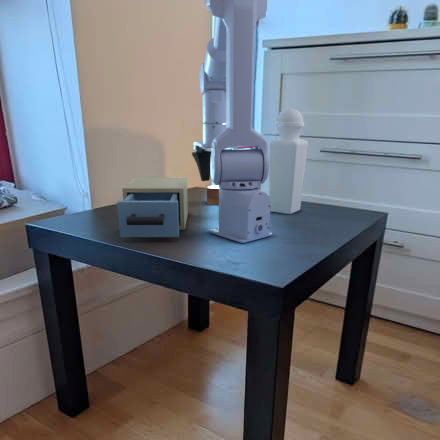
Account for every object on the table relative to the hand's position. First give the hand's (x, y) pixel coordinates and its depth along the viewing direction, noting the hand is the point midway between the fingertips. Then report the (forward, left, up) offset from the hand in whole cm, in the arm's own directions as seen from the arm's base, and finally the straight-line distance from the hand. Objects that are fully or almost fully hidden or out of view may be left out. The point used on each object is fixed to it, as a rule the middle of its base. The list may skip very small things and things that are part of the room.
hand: (214, 182), depth 103 cm
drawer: (-15, +28, -4) cm, 32 cm away
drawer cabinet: (-6, +21, -5) cm, 23 cm away
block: (0, 0, -5) cm, 5 cm away
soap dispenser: (-17, -7, -5) cm, 19 cm away
